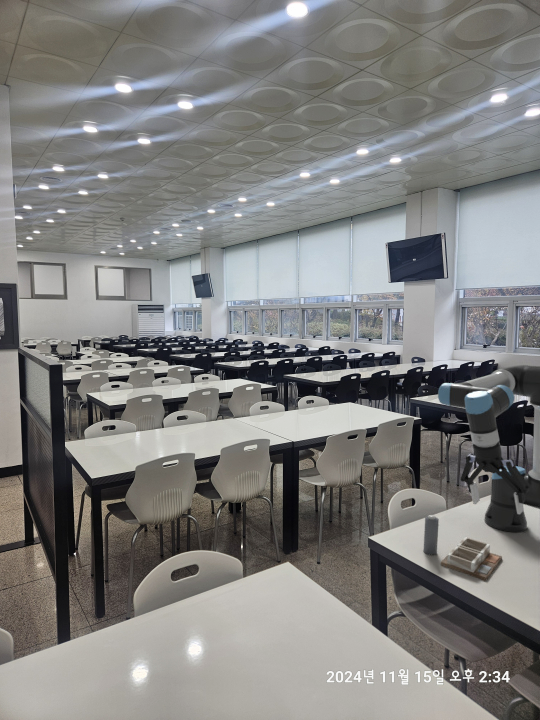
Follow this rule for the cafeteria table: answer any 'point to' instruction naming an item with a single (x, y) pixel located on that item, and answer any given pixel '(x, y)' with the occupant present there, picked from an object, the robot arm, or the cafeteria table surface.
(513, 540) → the cafeteria table surface
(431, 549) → the plug
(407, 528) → the cafeteria table surface
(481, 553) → the socket board
